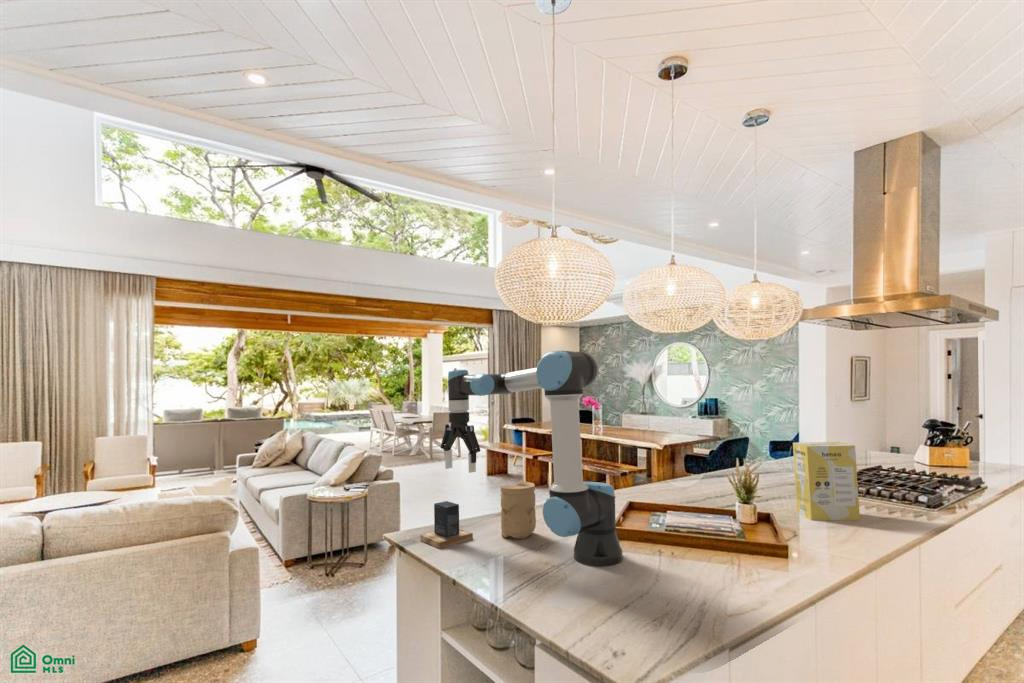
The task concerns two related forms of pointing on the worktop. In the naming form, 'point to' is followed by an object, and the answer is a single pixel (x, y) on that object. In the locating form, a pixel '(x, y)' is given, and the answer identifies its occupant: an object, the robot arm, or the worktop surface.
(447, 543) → the board
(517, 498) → the container
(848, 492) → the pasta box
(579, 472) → the robot arm
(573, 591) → the worktop surface
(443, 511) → the box
